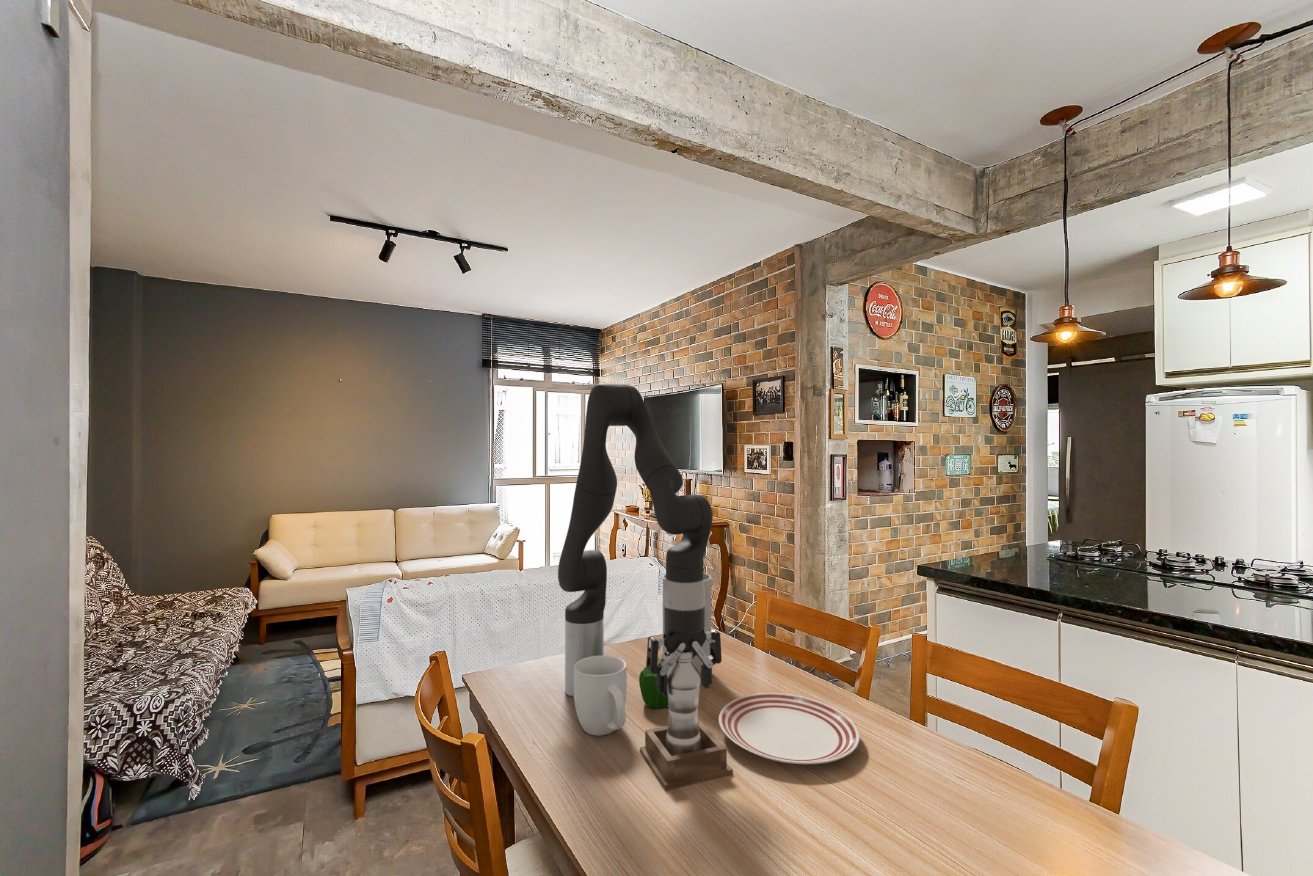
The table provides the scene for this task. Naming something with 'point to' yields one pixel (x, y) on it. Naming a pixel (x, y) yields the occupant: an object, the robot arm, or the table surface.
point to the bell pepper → (651, 689)
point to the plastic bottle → (683, 706)
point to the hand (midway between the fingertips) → (684, 690)
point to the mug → (600, 693)
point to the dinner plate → (789, 728)
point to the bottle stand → (685, 759)
